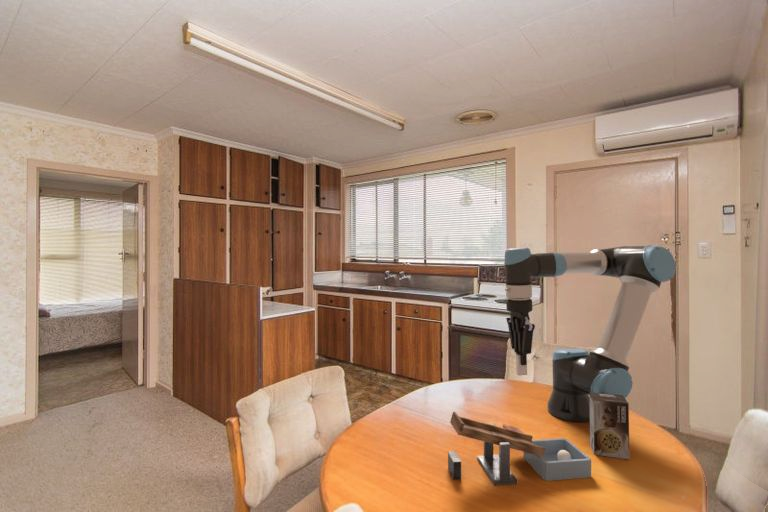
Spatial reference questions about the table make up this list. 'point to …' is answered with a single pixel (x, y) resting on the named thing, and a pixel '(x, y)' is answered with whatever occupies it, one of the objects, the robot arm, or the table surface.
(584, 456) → the dish
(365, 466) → the table surface
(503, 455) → the fulcrum
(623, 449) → the coffee box
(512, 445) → the lever
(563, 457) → the ball
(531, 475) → the table surface
